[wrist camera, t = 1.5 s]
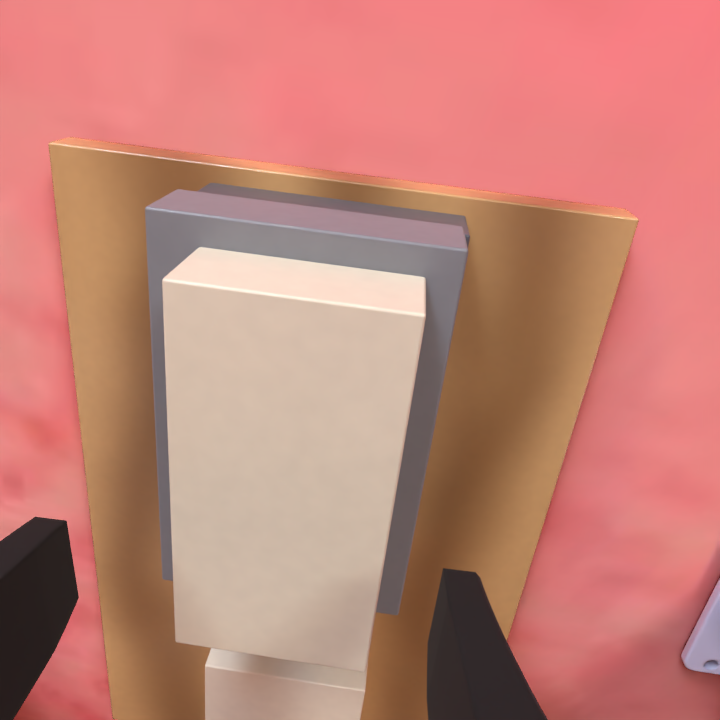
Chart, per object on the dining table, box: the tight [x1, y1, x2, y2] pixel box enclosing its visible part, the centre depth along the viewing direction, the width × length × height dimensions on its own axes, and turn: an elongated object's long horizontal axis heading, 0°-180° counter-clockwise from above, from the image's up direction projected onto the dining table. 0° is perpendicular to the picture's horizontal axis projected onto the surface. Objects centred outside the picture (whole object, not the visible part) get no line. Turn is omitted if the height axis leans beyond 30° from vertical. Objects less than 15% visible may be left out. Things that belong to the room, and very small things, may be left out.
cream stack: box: [205, 648, 369, 720], centre depth 23 cm, size 5×10×4 cm, turn 174°
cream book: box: [162, 247, 426, 672], centre depth 15 cm, size 5×10×2 cm, turn 174°
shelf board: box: [49, 137, 638, 720], centre depth 23 cm, size 16×25×1 cm, turn 174°
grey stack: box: [145, 183, 470, 615], centre depth 18 cm, size 7×11×4 cm, turn 174°
